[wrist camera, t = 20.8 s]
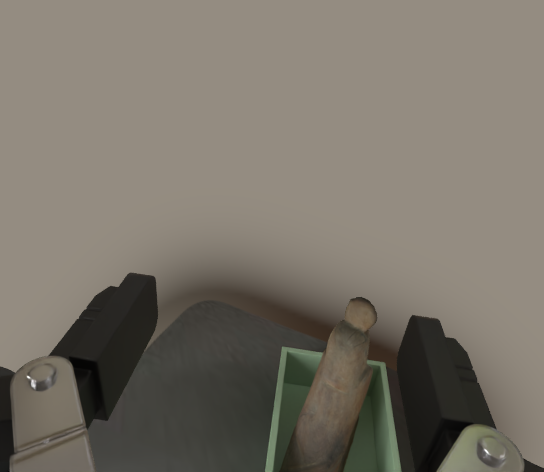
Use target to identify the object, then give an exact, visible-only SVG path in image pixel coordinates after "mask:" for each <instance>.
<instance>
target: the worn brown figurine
mask: <svg viewBox="0 0 544 472" xmlns="http://www.w3.org/2000/svg"><path fill="white" fill-rule="evenodd" d="M376 321H377V313H376V311H375V308H374V306H373V305H372V304H371V302H370V301H369V300H367V299H365V298H362V297H356V298H354V299H351V300H350V302H349V304H348V306H347V308H346V311H345V320H342V321H340V322H339V323H338V324H337V326H335V328H334V329H333V331H332V333H331V335H330V337H329V341H328V345H327V348H326V349H325V350H324V352H323V354H322V357H321V360H320V363H319V366H318V369H317V372H316V374H315V377H314V380H313V383H312V385H311V388H310V391H309V393H308V395H307V398H306V401H305V403H304V405H303V408H302V410H301V413H300V415H299V417H298V420H297V423H296V426H295V428H294V430H293V434H292V436H291V439H290V442H289V445H288V448H287V451H286V454H285V457H284V460H283V463H282V466H281V469H280V471H279V472H343V471H344V467H345V465H346V459H347V458H348V453H349V452H350V447H351V445H352V443H353V439H354V434H355V431H356V428H357V425H358V421H359V413H360V410H361V407H362V405H363V402H364V399H365V397H366V394H367V390H368V387H369V384H370V381H371V377H372V373H373V369H372V367H370V366H369V365H368V364H367V356H368V351H369V330H368V329H370V328H371V327H372V326H373V325H374V324H375V323H376Z"/></svg>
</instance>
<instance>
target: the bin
mask: <svg viewBox="0 0 544 472" xmlns="http://www.w3.org/2000/svg"><path fill="white" fill-rule="evenodd" d="M322 354H323V353H320V352H314V351H307V350H301V349H294V348H287V347H282V352H281V359H280V366H279V373H278V380H277V387H276V395H275V402H274V409H273V417H272V424H271V431H270V439H269V446H268V453H267V461H266V468H265V472H279V471H280V469H281V466H282V463H283V460H284V457H285V454H286V451H287V448H288V445H289V442H290V439H291V436H292V434H293V430H294V428H295V426H296V423H297V420H298V417H299V415H300V413H301V410H302V408H303V405H304V403H305V401H306V398H307V395H308V393H309V391H310V388H311V385H312V383H313V380H314V377H315V374H316V372H317V369H318V366H319V363H320V360H321V357H322ZM367 364H368V365H369V366H370V367H372V369H373V373H372V377H371V381H370V384H369V387H368V390H367V394H366V397H365V399H364V402H363V405H362V407H361V410H360V413H359V421H358V425H357V428H356V431H355V434H354V439H353V443H352V445H351V447H350V452H349V453H348V458H347V459H346V465H345V467H344V471H343V472H401V466H400V459H399V452H398V446H397V439H396V433H395V426H394V419H393V413H392V406H391V399H390V393H389V386H388V380H387V373H386V366H385V363H383V362H378V361H372V360H367Z"/></svg>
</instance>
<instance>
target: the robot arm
mask: <svg viewBox="0 0 544 472" xmlns="http://www.w3.org/2000/svg"><path fill="white" fill-rule="evenodd" d="M157 308H158V307H157V292H156V280H155V277H154V276H150V275H143V274H137V273H129V274H128V275H127V276H126V277H125V279H124V280H123V282H122V283H121V284H120V286H119V287H113V286H110V287H108V288H107V289H105V290H104V291H102V292H101V293H99V294H97V295H96V296H95V297H94V298H93V300H92V301H91V302H90V304H89V305H88V306H87V309H86V310H84V311H83V312H82V314H81V315H80V316H79V319H77V320H76V321H75V323H74V324H73V325H72V327H71V328H70V329H69V330H68V332H67V333H66V334H65V335H64V337H63V338H62V340H61V341H60V342H59V343H58V344H57V346H56V347H55V348H54V350H53V351H52V352H51V353H50V355H49V356H45V357H41V358H38V359H35V360H32V361H30V362H28V363H27V364H25V365H24V366H22V367H21V368H20V369H19V370H18V371H17V372H16V373H15V374H14V375H7V376H0V463H3V462H9V461H10V472H96V469H95V464H94V460H93V455H92V451H91V446H90V442H89V437H88V433H87V430H88V428H89V426H90V424H91V423H92V421H93V419H99V420H105V421H108V419H109V417H110V415H111V413H112V411H113V409H114V407H115V405H116V403H117V402H118V400H119V398H120V396H121V394H122V392H123V390H124V388H125V386H126V384H127V383H128V381H129V379H130V377H131V375H132V373H133V371H134V369H135V367H136V365H137V363H138V362H139V360H140V358H141V356H142V354H143V352H144V350H145V348H146V346H147V344H148V342H149V341H150V339H151V337H152V335H153V333H154V331H155V327H156V324H157V319H158V309H157ZM472 368H473V367H472V365H471V362H470V359H469V357H468V354H467V352H466V351H465V350H464V349H463V347H462V346H461V345H460V344H459V343H458V342H457V341H456V339H454V338H446V337H445V335H444V332H443V329H442V326H441V323H440V321H439V320H438V319H435V318H429V317H422V316H415V315H412V316H411V318H410V320H409V322H408V325H407V328H406V331H405V334H404V337H403V340H402V343H401V346H400V349H399V352H398V357H397V373H398V378H399V384H400V389H401V395H402V400H403V406H404V412H405V417H406V423H407V428H408V434H409V439H410V445H411V450H412V456H413V461H414V467H415V472H544V468H542V467H539V466H537V465H535V464H533V463H531V462H529V461H527V460H525V459H523V458H522V455H521V453H520V451H519V450H518V448H517V447H516V445H515V444H514V443H513V442H512V441H511V440H510V439H509V438H508V437H507V436H505V435H504V434H503V433H501V432H499V431H498V430H497V429H496V427H495V424H494V421H493V419H492V416H491V414H490V411H489V408H488V406H487V403H486V401H485V398H484V395H483V393H482V390H481V388H480V385H479V383H477V377H476V375H475V372H474V370H472Z"/></svg>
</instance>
